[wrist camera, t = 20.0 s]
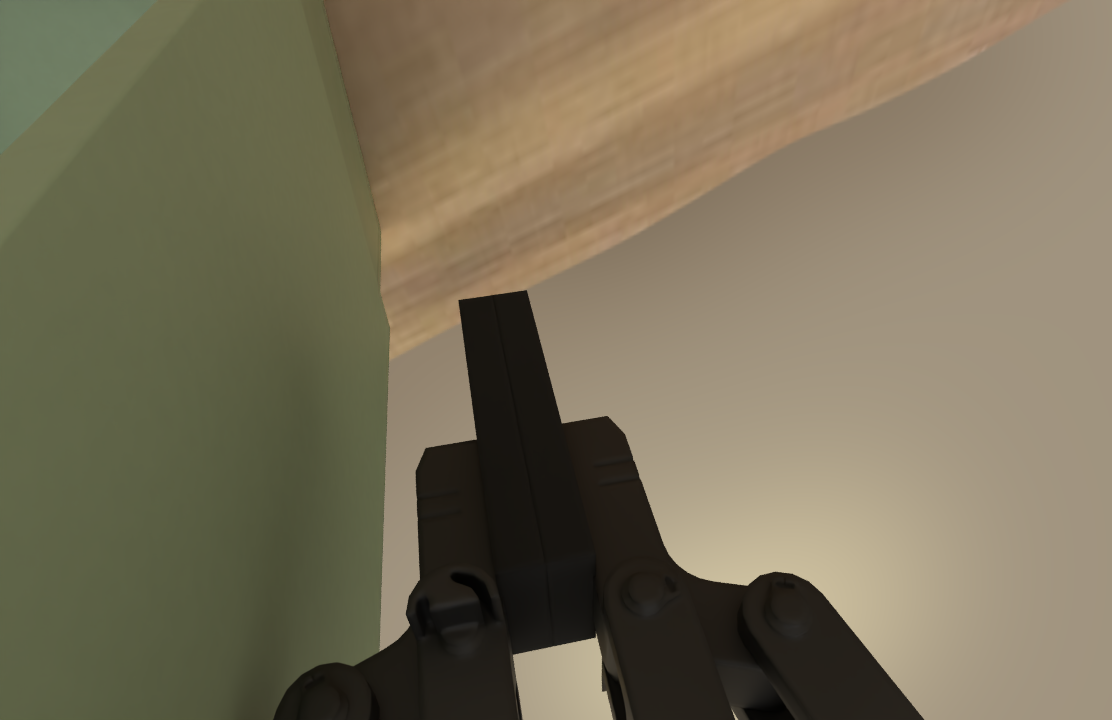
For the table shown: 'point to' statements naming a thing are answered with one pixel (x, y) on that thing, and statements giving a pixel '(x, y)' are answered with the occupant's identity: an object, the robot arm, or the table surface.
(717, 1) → the table surface
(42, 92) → the box
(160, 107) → the lid
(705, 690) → the robot arm
